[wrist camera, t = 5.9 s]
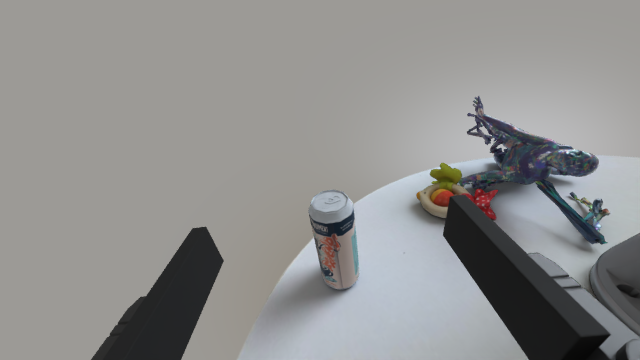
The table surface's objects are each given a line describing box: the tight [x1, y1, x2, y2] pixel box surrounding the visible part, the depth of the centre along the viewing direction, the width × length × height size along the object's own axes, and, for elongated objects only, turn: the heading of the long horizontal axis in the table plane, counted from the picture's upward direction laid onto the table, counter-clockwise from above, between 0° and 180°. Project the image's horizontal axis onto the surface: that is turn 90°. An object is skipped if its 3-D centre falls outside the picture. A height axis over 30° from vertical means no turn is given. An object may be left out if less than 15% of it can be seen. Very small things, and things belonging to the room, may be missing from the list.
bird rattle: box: [417, 163, 498, 220], centre depth 36 cm, size 6×11×9 cm
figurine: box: [459, 96, 610, 244], centre depth 35 cm, size 20×18×18 cm
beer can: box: [309, 190, 360, 289], centre depth 26 cm, size 5×5×12 cm
